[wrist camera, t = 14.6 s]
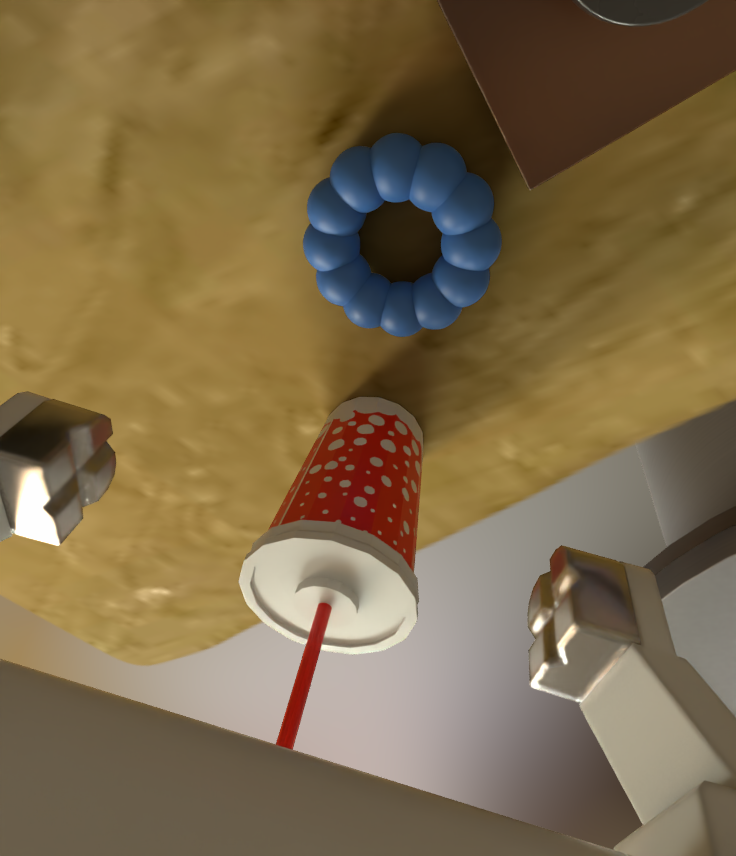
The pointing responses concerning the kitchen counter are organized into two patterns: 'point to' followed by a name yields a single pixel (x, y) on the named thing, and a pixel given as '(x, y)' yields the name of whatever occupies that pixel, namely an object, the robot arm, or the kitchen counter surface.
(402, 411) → the beverage cup
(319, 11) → the kitchen counter surface
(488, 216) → the blue bumpy ring
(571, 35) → the peg stand
